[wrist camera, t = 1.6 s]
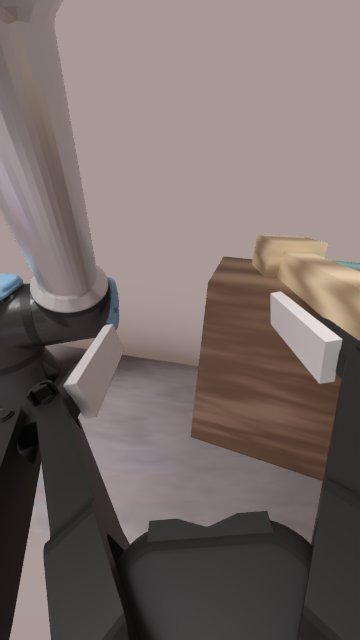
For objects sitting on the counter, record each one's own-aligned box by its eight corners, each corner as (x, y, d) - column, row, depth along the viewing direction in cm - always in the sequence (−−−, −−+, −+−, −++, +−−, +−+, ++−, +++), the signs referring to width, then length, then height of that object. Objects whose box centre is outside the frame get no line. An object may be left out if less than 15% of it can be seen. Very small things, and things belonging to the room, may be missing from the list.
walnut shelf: (366, 495, 29) (566, 318, 14) (190, 436, 35) (209, 273, 21) (333, 412, 40) (425, 269, 26) (206, 379, 47) (224, 250, 32)
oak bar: (460, 367, 11) (527, 298, 9) (345, 359, 11) (385, 290, 9) (293, 266, 29) (303, 236, 27) (251, 264, 29) (257, 234, 27)
